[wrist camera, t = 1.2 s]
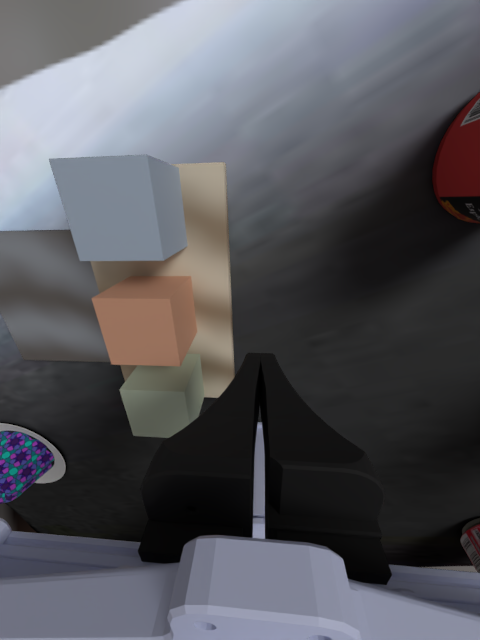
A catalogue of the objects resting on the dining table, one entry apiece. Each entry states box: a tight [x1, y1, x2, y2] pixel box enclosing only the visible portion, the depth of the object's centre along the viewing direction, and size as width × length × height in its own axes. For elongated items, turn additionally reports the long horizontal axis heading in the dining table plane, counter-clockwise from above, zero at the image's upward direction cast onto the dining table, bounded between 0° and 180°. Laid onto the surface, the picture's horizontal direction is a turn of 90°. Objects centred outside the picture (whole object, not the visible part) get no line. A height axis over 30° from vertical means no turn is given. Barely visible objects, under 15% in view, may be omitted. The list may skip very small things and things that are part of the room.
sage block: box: [119, 354, 205, 438], centre depth 21 cm, size 5×5×5 cm
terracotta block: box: [91, 276, 197, 366], centre depth 18 cm, size 5×5×5 cm
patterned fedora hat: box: [0, 423, 66, 504], centre depth 31 cm, size 12×12×5 cm
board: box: [0, 162, 235, 398], centre depth 21 cm, size 20×21×1 cm
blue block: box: [49, 155, 188, 261], centre depth 15 cm, size 5×5×5 cm
